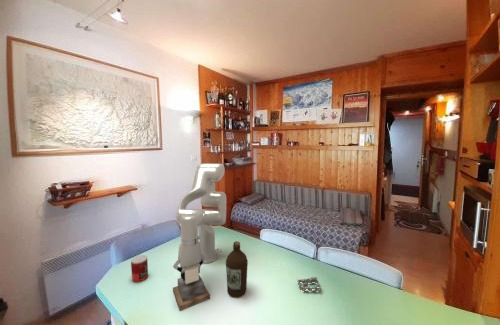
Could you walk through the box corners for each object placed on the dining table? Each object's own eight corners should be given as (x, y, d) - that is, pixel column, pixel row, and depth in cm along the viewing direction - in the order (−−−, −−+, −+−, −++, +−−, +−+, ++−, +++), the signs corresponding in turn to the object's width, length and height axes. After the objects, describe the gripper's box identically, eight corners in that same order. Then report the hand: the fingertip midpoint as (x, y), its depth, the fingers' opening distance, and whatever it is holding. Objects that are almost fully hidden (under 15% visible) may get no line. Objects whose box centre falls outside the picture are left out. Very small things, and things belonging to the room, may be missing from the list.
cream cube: (195, 273, 105) (194, 261, 104) (198, 279, 100) (198, 267, 99) (182, 277, 102) (182, 265, 101) (185, 284, 97) (185, 271, 96)
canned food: (141, 283, 110) (140, 263, 109) (128, 281, 112) (127, 261, 111) (151, 274, 118) (150, 255, 116) (138, 272, 119) (137, 254, 118)
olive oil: (231, 282, 111) (230, 236, 109) (250, 286, 108) (250, 239, 106) (222, 296, 101) (221, 246, 99) (243, 301, 98) (243, 249, 96)
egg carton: (317, 284, 110) (317, 276, 110) (321, 294, 103) (321, 286, 102) (296, 283, 111) (296, 275, 110) (299, 293, 103) (299, 285, 103)
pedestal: (200, 281, 112) (200, 269, 111) (210, 298, 100) (209, 284, 99) (172, 291, 104) (172, 278, 104) (179, 310, 92) (179, 295, 92)
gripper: (204, 233, 107) (205, 267, 109) (168, 241, 98) (170, 278, 100) (210, 239, 100) (210, 275, 102) (172, 248, 92) (173, 288, 93)
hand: (190, 276), depth 101 cm, fingers closed on cream cube, 6 cm apart
